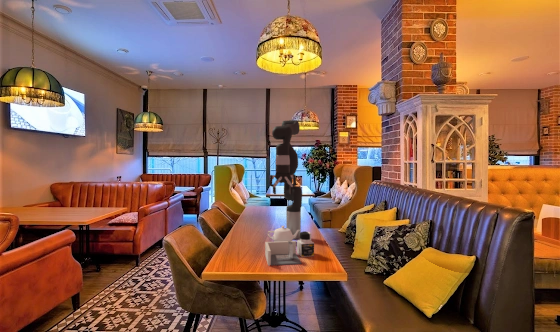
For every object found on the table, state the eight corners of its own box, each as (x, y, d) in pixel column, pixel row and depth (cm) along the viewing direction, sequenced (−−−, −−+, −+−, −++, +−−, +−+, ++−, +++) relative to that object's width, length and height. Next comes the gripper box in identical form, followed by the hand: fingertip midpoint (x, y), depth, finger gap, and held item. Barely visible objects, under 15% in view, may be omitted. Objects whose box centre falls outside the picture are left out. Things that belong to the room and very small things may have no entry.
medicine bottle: (301, 257, 152) (301, 234, 152) (296, 253, 159) (297, 231, 158) (314, 256, 154) (314, 233, 153) (309, 251, 161) (309, 230, 160)
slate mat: (267, 255, 154) (267, 254, 154) (295, 254, 156) (295, 253, 156) (270, 265, 140) (270, 264, 140) (301, 264, 142) (301, 262, 142)
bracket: (276, 260, 145) (276, 244, 144) (275, 257, 150) (275, 242, 149) (292, 260, 146) (292, 244, 146) (291, 256, 151) (291, 241, 150)
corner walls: (265, 255, 155) (265, 242, 155) (295, 253, 157) (295, 240, 157) (268, 265, 140) (268, 251, 140) (301, 264, 142) (301, 249, 142)
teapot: (299, 239, 185) (299, 223, 185) (300, 245, 173) (300, 228, 172) (267, 239, 185) (267, 223, 185) (266, 245, 173) (266, 228, 173)
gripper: (270, 164, 152) (270, 195, 152) (297, 163, 154) (297, 194, 155) (268, 163, 159) (268, 193, 160) (294, 163, 161) (294, 192, 162)
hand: (282, 194), depth 157 cm, fingers open, 8 cm apart
